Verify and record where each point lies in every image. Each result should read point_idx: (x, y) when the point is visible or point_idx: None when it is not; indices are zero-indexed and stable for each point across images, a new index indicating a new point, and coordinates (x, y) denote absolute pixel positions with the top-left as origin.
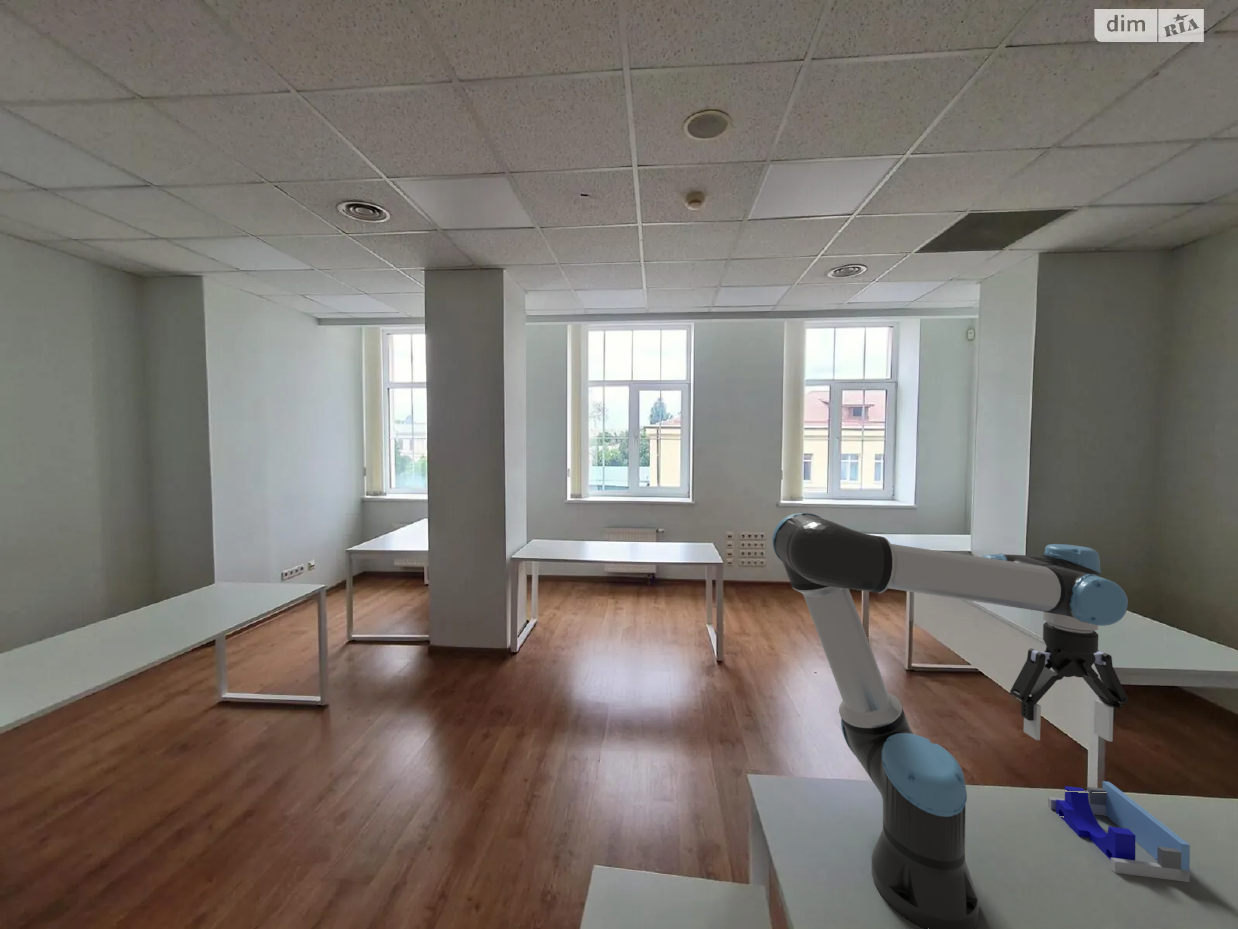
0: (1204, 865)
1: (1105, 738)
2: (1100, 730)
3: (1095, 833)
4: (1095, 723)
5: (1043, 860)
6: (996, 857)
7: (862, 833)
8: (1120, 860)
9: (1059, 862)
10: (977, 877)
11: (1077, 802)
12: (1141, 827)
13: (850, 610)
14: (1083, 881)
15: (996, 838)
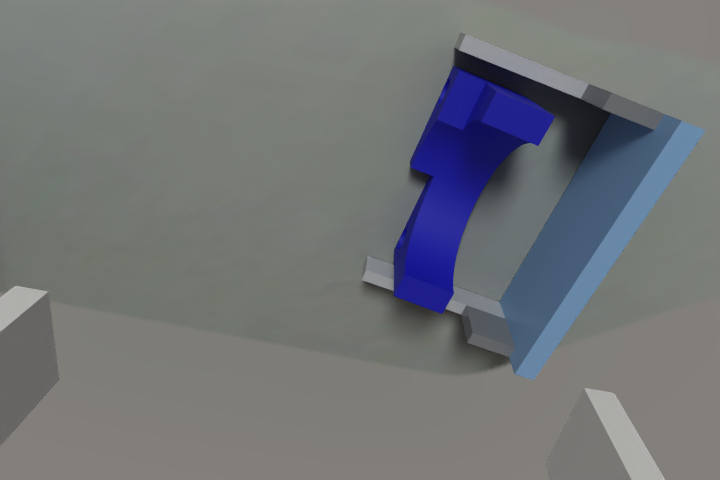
0: (622, 294)
1: (554, 458)
2: (580, 467)
3: (442, 189)
4: (616, 467)
5: (219, 202)
6: (98, 170)
7: None
8: (380, 280)
9: (256, 215)
10: (6, 207)
11: (489, 128)
12: (563, 248)
13: None
14: (259, 265)
15: (149, 116)
